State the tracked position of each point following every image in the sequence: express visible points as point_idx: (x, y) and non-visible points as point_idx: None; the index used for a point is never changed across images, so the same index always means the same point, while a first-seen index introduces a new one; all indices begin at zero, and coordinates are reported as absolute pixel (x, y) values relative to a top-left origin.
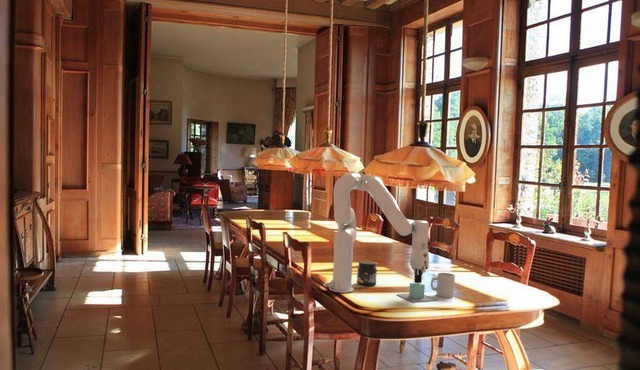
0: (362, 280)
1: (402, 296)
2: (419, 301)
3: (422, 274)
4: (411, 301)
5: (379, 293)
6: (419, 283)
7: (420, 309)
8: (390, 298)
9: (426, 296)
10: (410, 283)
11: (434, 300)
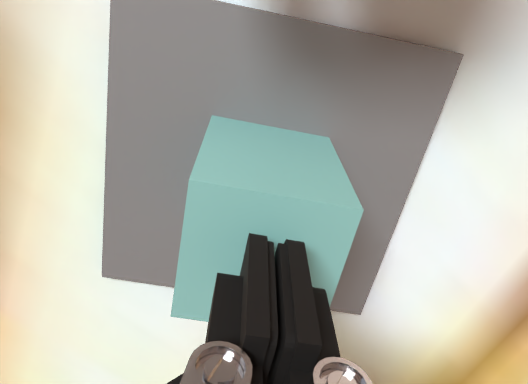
0: None
1: None
2: (381, 255)
3: (366, 375)
4: (341, 309)
5: (8, 349)
6: (258, 223)
7: (510, 371)
8: (178, 366)
9: (294, 53)
10: (187, 315)
11: (447, 86)
